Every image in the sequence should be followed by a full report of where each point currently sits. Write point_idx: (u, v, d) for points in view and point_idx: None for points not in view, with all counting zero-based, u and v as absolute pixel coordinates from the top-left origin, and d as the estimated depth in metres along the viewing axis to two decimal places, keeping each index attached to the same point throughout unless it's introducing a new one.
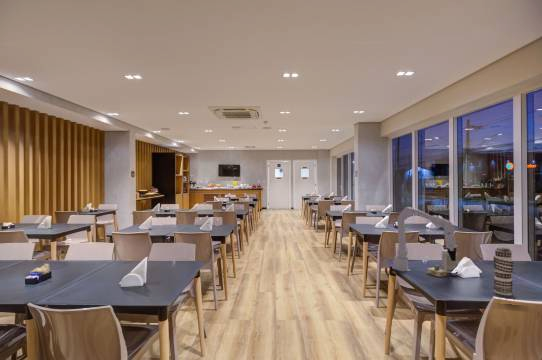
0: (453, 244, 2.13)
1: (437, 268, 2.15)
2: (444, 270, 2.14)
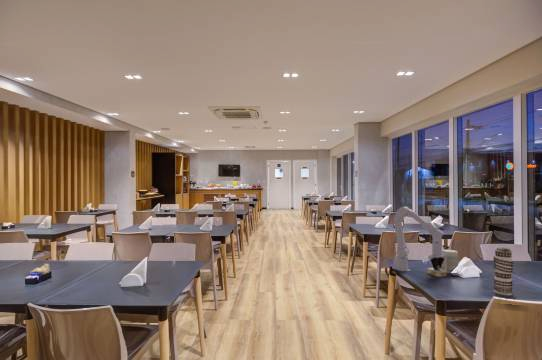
0: (436, 253, 2.14)
1: (437, 268, 2.15)
2: (444, 270, 2.14)
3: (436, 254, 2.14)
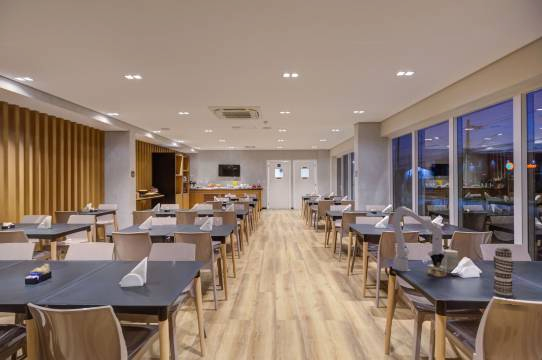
0: (436, 250, 2.14)
1: (437, 265, 2.15)
2: (444, 267, 2.14)
3: (436, 251, 2.14)
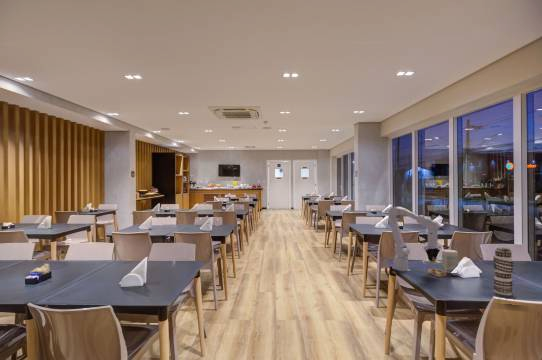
0: (432, 245, 2.12)
1: (432, 259, 2.13)
2: (439, 261, 2.12)
3: (431, 245, 2.12)
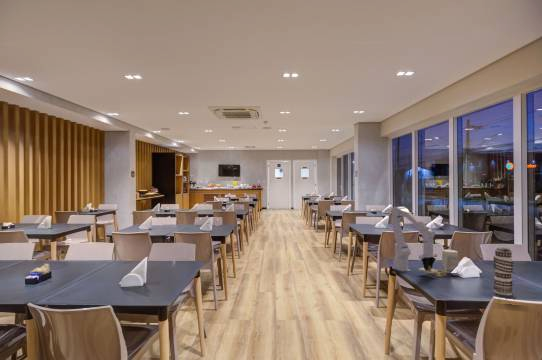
0: (427, 253, 2.10)
1: (428, 268, 2.11)
2: (435, 270, 2.10)
3: (427, 254, 2.10)
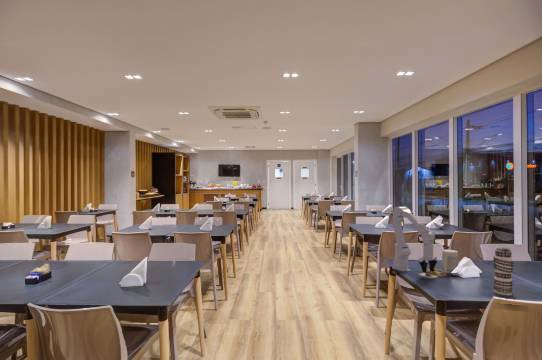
0: (427, 256, 2.10)
1: (428, 274, 2.11)
2: (435, 276, 2.10)
3: (427, 257, 2.10)
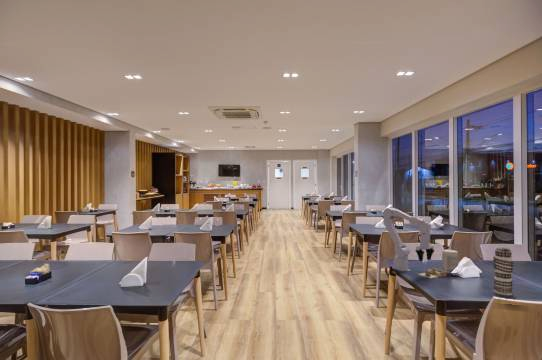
0: (424, 245, 2.15)
1: (428, 274, 2.11)
2: (435, 276, 2.10)
3: (424, 245, 2.15)
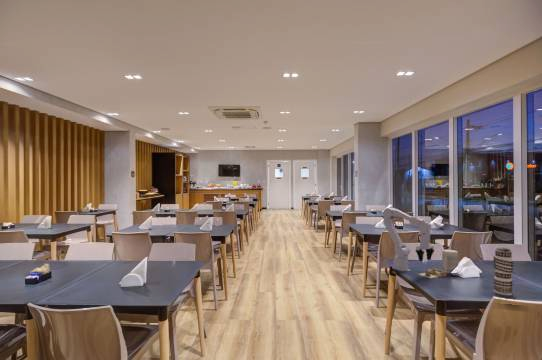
0: (424, 245, 2.15)
1: (428, 274, 2.11)
2: (435, 276, 2.10)
3: (424, 245, 2.15)
